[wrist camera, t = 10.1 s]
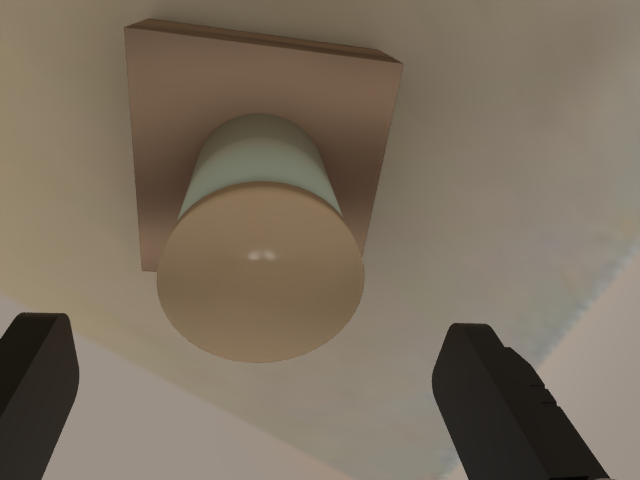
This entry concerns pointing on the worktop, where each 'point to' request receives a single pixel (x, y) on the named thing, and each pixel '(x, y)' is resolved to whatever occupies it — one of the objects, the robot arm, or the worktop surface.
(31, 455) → the robot arm
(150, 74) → the plinth
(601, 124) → the worktop surface
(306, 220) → the jar
